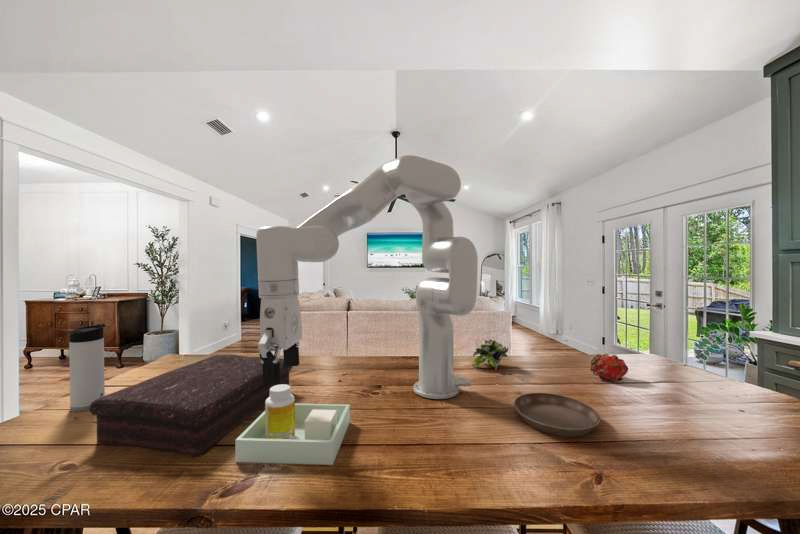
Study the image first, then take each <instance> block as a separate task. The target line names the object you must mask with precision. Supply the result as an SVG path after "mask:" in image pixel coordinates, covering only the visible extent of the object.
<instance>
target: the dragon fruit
mask: <svg viewBox="0 0 800 534" xmlns="http://www.w3.org/2000/svg"><path fill="white" fill-rule="evenodd" d="M628 367H629V366H627V364H626V363H625V361H624V359H622V358H619V356H617V355H616V354H613V355H609V354H608V353H606V354H605V353H604V354H599V353H598V354H596V355H595V356H593V357H592V359H591V360H590V371H591V372H592V373H593V376H597V377H598V378H600V379H599V380H605V379H606V380H608V381H611V382H614V381H615V380H616V381H620V382H621V381H622V380H624V378H623V377H624V376H625V375H626V374H627V373H628V372H629V368H628Z"/></svg>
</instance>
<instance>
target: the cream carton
mask: <svg viewBox="0 0 800 534" xmlns="http://www.w3.org/2000/svg"><path fill="white" fill-rule="evenodd" d="M336 426H337V410H314V409H313V410H312V411H311V413H310V414H309V415H308V417H307V418H306V420H305V440H330V439H331V436H332V434H333V432H334V430H335V428H336Z"/></svg>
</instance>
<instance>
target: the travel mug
mask: <svg viewBox="0 0 800 534" xmlns="http://www.w3.org/2000/svg"><path fill="white" fill-rule="evenodd" d="M105 327H106V324H104V323H98V324H97V325H96V324H94V325H93V324H92V325H88V326H81V327H79V328H75V329H72V330H70V331H69V335H68V337H69V339H68V340H69V341H68V344H69V345H68V355H69V357H68V358H69V403H70V404H69V405H70V407H69V408H70V411H71V412H75V413H80V412H85V411H86V412H87V411H90V409H89V407H90V405H91V403H92V402H93V401H95V400H96V399H98V398H100V397H103V396H106V394H105V392H106V391H105V388H106V387H105V341H104V339H105V337H104V328H105Z"/></svg>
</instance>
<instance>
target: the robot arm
mask: <svg viewBox="0 0 800 534" xmlns="http://www.w3.org/2000/svg"><path fill="white" fill-rule="evenodd" d="M461 182H462V181H461V178H460V175H459V173H458V172H457V171H456V170H455V169H454V168H453V167H451V166H450V165H448V164H445V163H441V162H439V161H434V160H431V159H428V158H426V157H422V156H418V155H411V154H409V155H408V154H406V155H402V156H399V157H397V158H394V159H391V160H389V161H387V162H385V163H382V164H381V165H379V166H378V167H376V168H375V169H374V170H373V171H372V172H370V173H369V174H368V175H367V176H365V177H364V178H363V179H361V180H360V181H359V182H358V183H357V184H355V185H354V186H352V187H351V188H350V189H347V191H346V192H344V193H343V194H341V195H340V196H339V197H337V198H335V199H334V200H333V201H332V202H330V203H329V204H327V205H326V206H325V207H323V208H321V209H320V210H319V211H317V212H316V213H314V214H313V215H312V216H310V217H308V219H306V220H305V221H304V222H302V223H301V224H300V225H299V226H297V227H291V226H284V225H268V226H267V225H266V226H261V227H260V228H258V229H257V231H256V236H255V237H256V239H255V241H256V258H257V259H256V261H257V262H256V264H257V282H258V298H259V299H260V311H259V315H260V316H259V335H260V336H259V337H260V338H259V339H260V340H259V341H258V344H257V349H258V353H259V354H258V355H259V357H260V358H261V363H262V368H263V383H264V384H280V383H281V364H280V362H278V360H279V358H280V355H281V352H283V353H282V355H283V359H284V366H293V367H298V366H300V347H299V346H300V340H301V339H302V337H303V330H302V327H303V326H302V314H301V307H300V305H301V304H300V300H299V296H300V283H299V262H301V263H323V262H326V261H329V260H330V259H332V258H333V257H334V256H336V254H337V253H338V250H339V248H340V246H339V245H340V242H339V238H338V237H340V236H341V235H343V234H345V233H346V232H349V231H352V230H354V229H357V228H360V227H361V226H363V225H366V224H368V223H370V222H371V221H373V219H375V218H376V217H377V216H378V215H379V214H380V213H381V212H383V211H384V210H385V209H386V208H387V207H388V206H389V205H390V204H391V203H392V202H394V201H395V200H396V199H397V198H398V197H400V196H401V195H402V196H403V195H405V198H406V200H408V202H409V203H410V204H411V205H412V207H414V208H415V210H416V211H417V212H418V215H419V216H420V218H421V223H422V237H421V238H422V243H421V244H422V245H421V246H422V247H421V260H422V265H423V267H424V268H425V270H427V271H429V272H433V273H438V274H439V273H441V274H442V273H443V274H448V277H439V276H438V277H436V276H435V277H434V276H433V277H432V276H431V277H427V278H425V279H423V280H421V281H420V282H419V283H418V285H417V287H416V289H415V302H416V307H417V312H418V381H416V382H415V383H414V384H413V387H412V389H413V392H414V393H415V394H417V396H420V397H422V398H425V399H430V400H431V399H433V400H447V399H450V398H454V397H456V396H457V395H458V394H459V392H460V386H462V387H471V385H472V383H471V382H472V381H471V379H470V378H466V377H465V376H456V375H455V373H454V337H455V335H454V331H455V330H454V324H453V320H452V318H451V315H452V316H460V317H462V316H463V317H464V316H467V315H469V314H470V313H472V311H473V310H474V309H475V306H476V303H477V295H478V293H477V292H478V270H479V269H478V267H479V261H478V259H479V257H478V252H477V249H476V246H475V244H474V242H472V241H471V240H470V239H469V238H467V237H465V236H464V237H463V236H454V220H453V219H454V218H453V215H452V213H451V211H450V210H449V208H448V207H447V205H446V204H445V202H448V201H451V200H453V199H455V198H456V197H457V196H458V195H459V193H460V191H461V186H462V183H461ZM281 350H282V351H281ZM272 352H274V353H272Z"/></svg>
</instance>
